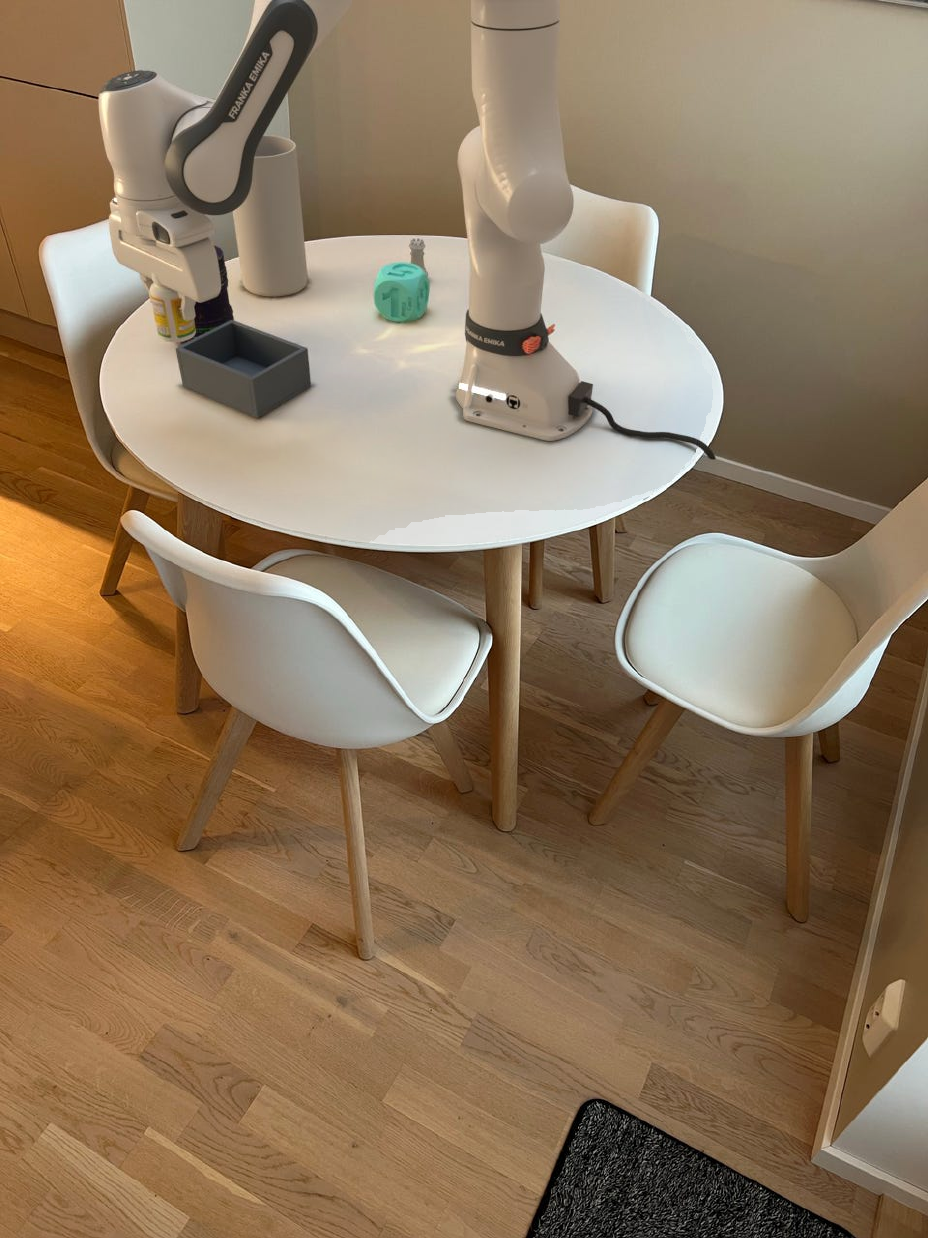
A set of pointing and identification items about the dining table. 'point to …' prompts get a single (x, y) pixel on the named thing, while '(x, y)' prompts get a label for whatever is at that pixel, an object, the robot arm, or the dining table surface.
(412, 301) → the decorative dice
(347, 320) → the dining table surface
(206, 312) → the dark barrel
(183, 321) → the supplement bottle
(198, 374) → the box shelf
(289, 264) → the cylinder vase
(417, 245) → the rook chess piece
